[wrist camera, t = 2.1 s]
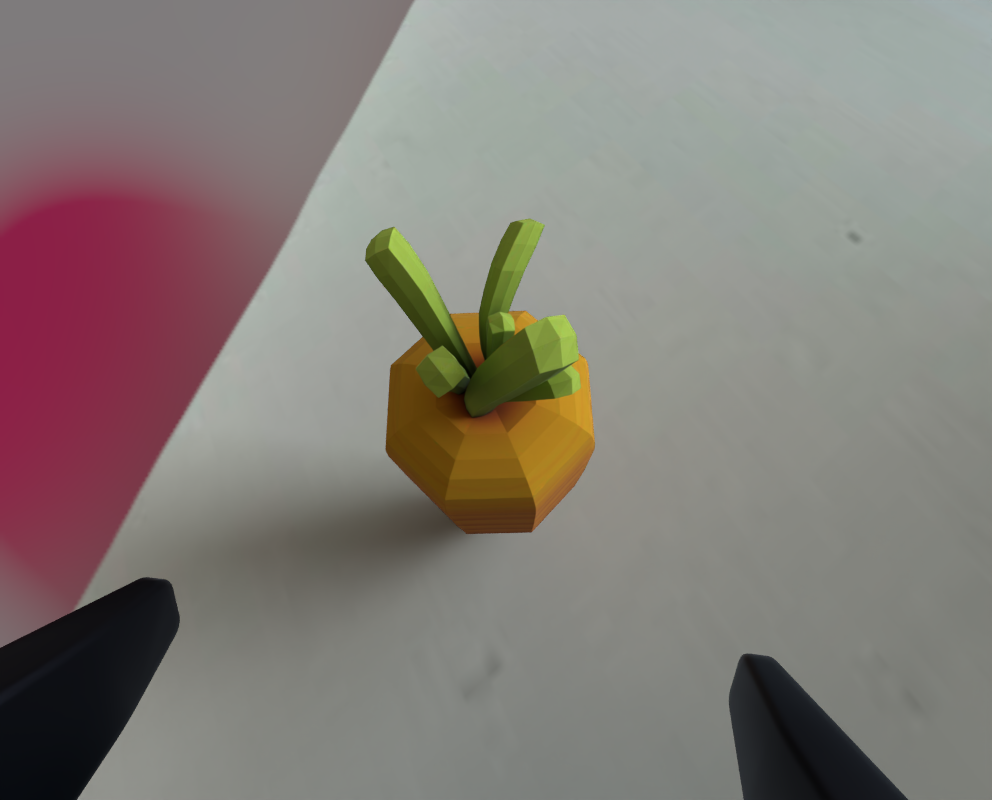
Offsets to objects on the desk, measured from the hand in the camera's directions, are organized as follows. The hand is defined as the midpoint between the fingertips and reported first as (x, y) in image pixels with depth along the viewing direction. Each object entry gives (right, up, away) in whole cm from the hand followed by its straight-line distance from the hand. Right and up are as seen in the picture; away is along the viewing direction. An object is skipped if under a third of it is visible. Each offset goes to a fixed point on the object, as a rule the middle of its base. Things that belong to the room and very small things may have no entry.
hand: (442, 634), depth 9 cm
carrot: (+1, 0, +13) cm, 13 cm away
